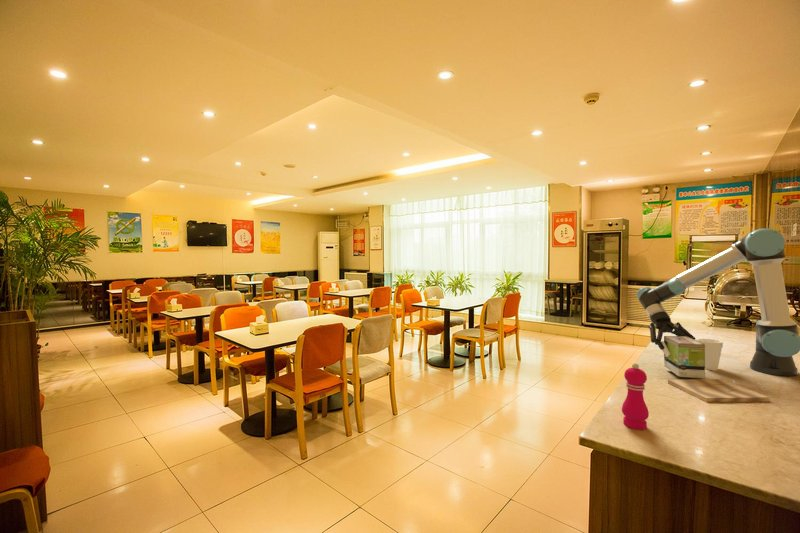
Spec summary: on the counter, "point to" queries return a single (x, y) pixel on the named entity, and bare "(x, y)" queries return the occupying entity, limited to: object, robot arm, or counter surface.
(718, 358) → the foam cup
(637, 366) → the pepper mill
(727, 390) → the oak board
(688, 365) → the tea box
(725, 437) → the counter surface
